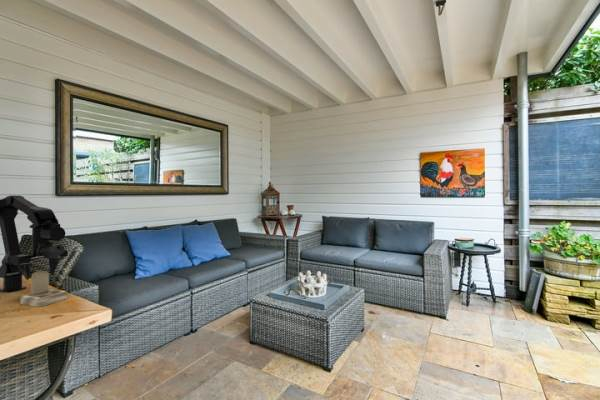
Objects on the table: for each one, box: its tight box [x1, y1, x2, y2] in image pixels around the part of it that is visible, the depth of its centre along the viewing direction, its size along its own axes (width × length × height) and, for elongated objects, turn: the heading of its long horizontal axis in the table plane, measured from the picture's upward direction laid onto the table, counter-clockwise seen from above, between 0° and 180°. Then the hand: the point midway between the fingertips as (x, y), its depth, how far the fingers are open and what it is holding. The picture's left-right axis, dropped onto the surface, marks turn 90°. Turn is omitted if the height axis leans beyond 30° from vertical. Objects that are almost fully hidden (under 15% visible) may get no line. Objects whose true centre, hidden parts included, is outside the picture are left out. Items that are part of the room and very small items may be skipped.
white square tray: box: [20, 288, 68, 308], centre depth 118 cm, size 10×10×3 cm
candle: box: [30, 269, 50, 294], centre depth 125 cm, size 6×6×10 cm
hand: (40, 276), depth 125 cm, fingers open, 9 cm apart
